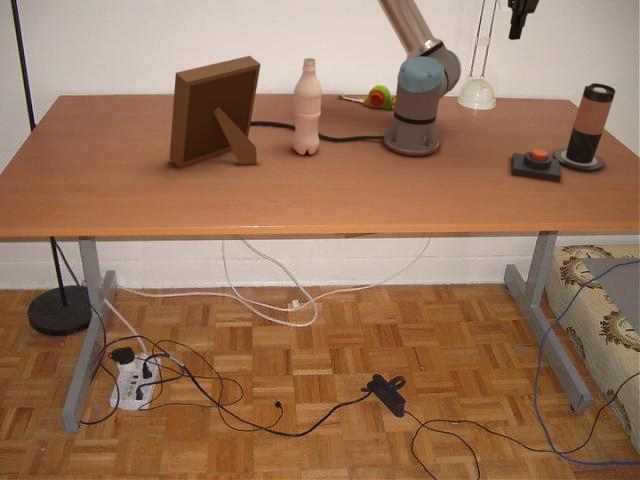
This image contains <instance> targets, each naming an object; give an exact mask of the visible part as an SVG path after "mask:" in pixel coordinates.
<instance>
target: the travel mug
mask: <svg viewBox="0 0 640 480" xmlns="http://www.w3.org/2000/svg"><path fill="white" fill-rule="evenodd" d="M583 89H584V90H583V93H582V95H581V99H580V102H579V105H578V109H577V112H576V115H575V119H574V123H573V125H572V129H571V133H570V137H569V141H568V144H567V147H566V148H567V152H566V157H567V158H568V159H569V160H571V161H574V162H577V163H584V164H586V163H590V162H592V160H593V158H594V155H596V153H597V150H598V147H599V144H600V141H601V138H602V135H603V133H604V130H605V126H606V123H607V120H608V117H609V115H610V111H611V108H612V104H613V101H614V98H615V95H616V89H615V88H614V87H612V86H609V85H607V84H603V83H598V82H597V83H591V84H590V85H585V86H584V88H583Z"/></svg>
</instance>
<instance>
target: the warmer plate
mask: <svg viewBox="0 0 640 480" xmlns="http://www.w3.org/2000/svg"><path fill="white" fill-rule="evenodd" d="M567 148H568V147H563V148H559V149H557V150H556V151H555V152H554V154H553V159H558V160H559V166H560V167H563V168H565V169H568V170H571V171H575V172H580V173H595V172H599V171H601V170H602V169H603V166H604V161H603V159H602V158H601V157H600V156H598V155H597V154H595V155H594V158H593V160H592V162H590V163H586V164H584V163H577V162H574V161H571V160H569V159H568V158H567V157H566V152H567Z"/></svg>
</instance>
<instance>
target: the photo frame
mask: <svg viewBox="0 0 640 480" xmlns="http://www.w3.org/2000/svg"><path fill="white" fill-rule="evenodd" d="M260 70H261V63H260V62H259V61H258V60H256V59H255V58H254V57H252V56H251V55H247V56H242V57H238V58H234V59H229V60H225V61H221V62H220V61H219V62H216V63H211V64H208V65H203V66H199V67H193V68H191V69H185V70H182V71H181V70H180V71H177V72H175V77H174V78H175V79H174V89H173V90H174V91H173V103H172V104H173V106H172V118H171V132H170V147H169V160H171V162H172V163H174V164H175V166H177V167H178V168H179V169H180V168H183V167H187V166H190V165H192V164H195V163H198V162H201V161H204V160H207V159H211V158H213V157H216V156H220V155H223V154H225V153H228V152H231V151H233V154H234V155H235V158H236V160H237V162H238V164H239V165H240V166H241V165H242V166H243V165H256V164H258V158H257V154H258V153H257V146H256V145H255V144H254V143H253V142H252V141H251V140H250V138H249V136H250V135H249V134H250V130H251V129H250V128H251V125H250V124H251V121H252V117H253V112H254V106H255V100H256V95H257V88H258V83H259V76H260Z"/></svg>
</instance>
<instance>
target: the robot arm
mask: <svg viewBox="0 0 640 480" xmlns="http://www.w3.org/2000/svg"><path fill="white" fill-rule="evenodd" d="M376 1H377V2H378V4H379V6H380V8H381V9H382V12H383V13H384V15H385V17H386V19H387V21H388V22H389V25H390V26H391V28H392V30H393V31H394V33H395V35H396V37H397V38H398V40H399V43H400V44H401V47H402V48H403V49H404V51H405V53H406V57H405V60H404V61H403V62H402V63H401V64H400V67H399V71H398V74H397V83H396V84H397V85H396V92H395V97H396V98H395V106H394V109H393V116H392V117H391V118H392V119H391V121H390V122H389V124H388V127H387V129H386V131H385V133H384V135H358V136H357V135H356V136H349V137H333V136H328V135H324V134H322V133H319V132H318V137H319V139H323V140H325V141H333V142H350V141H357V140H383V145H384V147H385V148H386V149H388V150H389V151H391V152H393V153H396V154H398V155H401V156H406V157H427V156H431V155H433V154H434V153H436V152H437V151H438V149H439V143H440V140H439V133H438V129H437V122H436V121H437V115H438V109H439V104H440V100H441V99H442V98H444V96H446V95H447V94H448V93H450V92H451V91H452V90H454V88H455V87H456V86H457V84H458V82H459V81H460V79H461V77H462V64H461V63H462V62H461V60H460V58H459V56H458V55H457V54H456V53H455V52H454V51H452V50H449V49H447V47H446V45H445V42H443V40H442V39H440V38H437V37H435V36H434V35H433V33H432V31H431V29H430V28H429V26H428V24H427V22H426V20H425V18H424V16H423V14H422V13H421V10H420V9H419V8H418V6H417V4H416V1H415V0H376ZM539 2H540V0H507V8H509V9H511V16H510V17H511V18H510V23H509V24H510V28H509V33H508V38H507V39H509V40H511V41H516V40H521V37H522V33H523V29H524V28H525V25H526V21H527V17H528V15H529V14H534V13H535V12H536V9H537V7H538V4H539ZM251 125H252V126H253V125H261V126H263V125H264V126H267V125H268V126H275V127H276V126H277V127H283V128H288V129H292V130H295V127H296V125H293V124H289V123H285V122H277V121H266V120H251V124H250V126H251Z"/></svg>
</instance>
